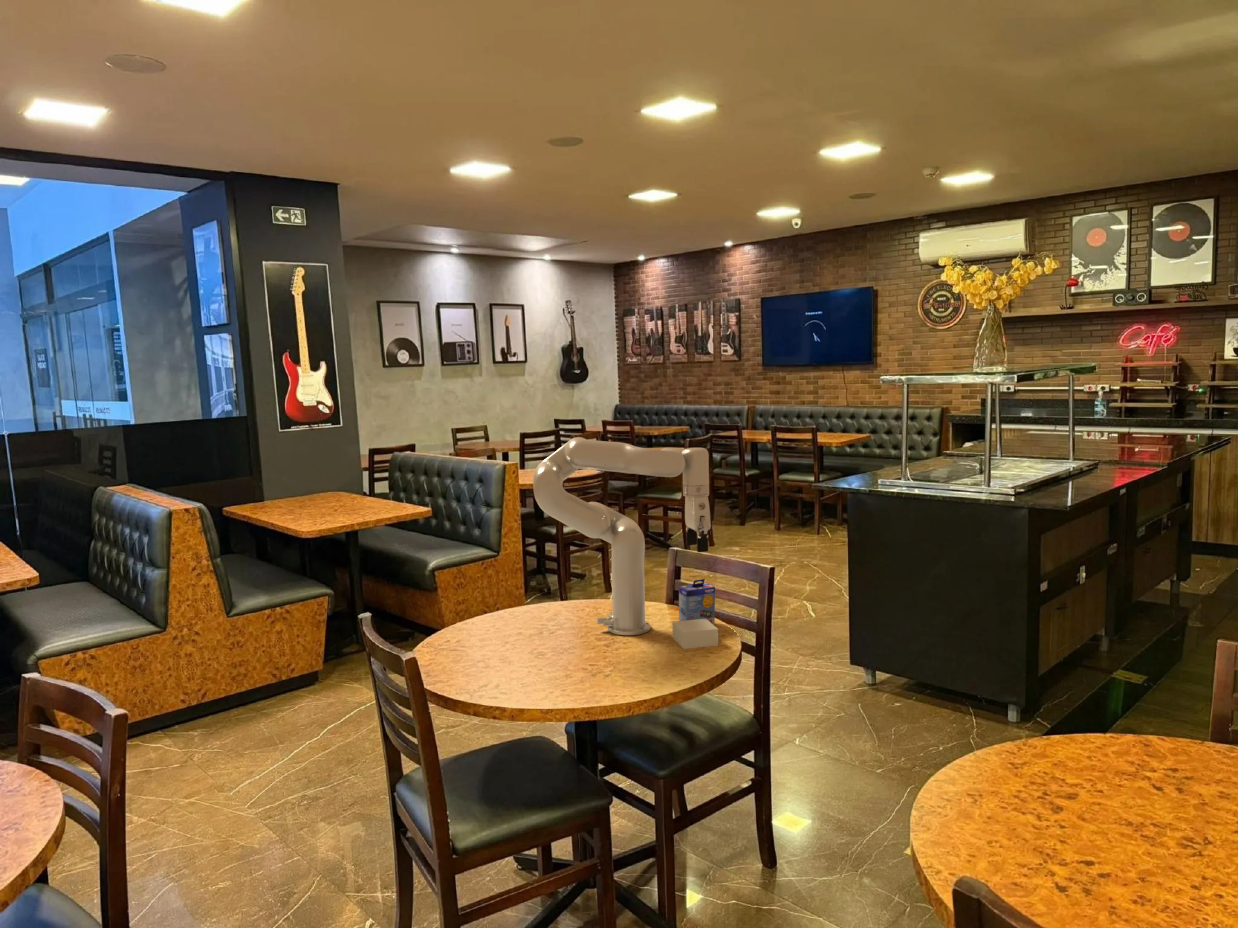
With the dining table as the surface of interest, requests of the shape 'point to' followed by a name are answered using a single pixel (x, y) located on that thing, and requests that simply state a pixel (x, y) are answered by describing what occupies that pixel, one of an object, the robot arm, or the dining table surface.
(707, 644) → the base block
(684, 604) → the ink cartridge box
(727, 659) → the dining table surface
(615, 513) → the robot arm
